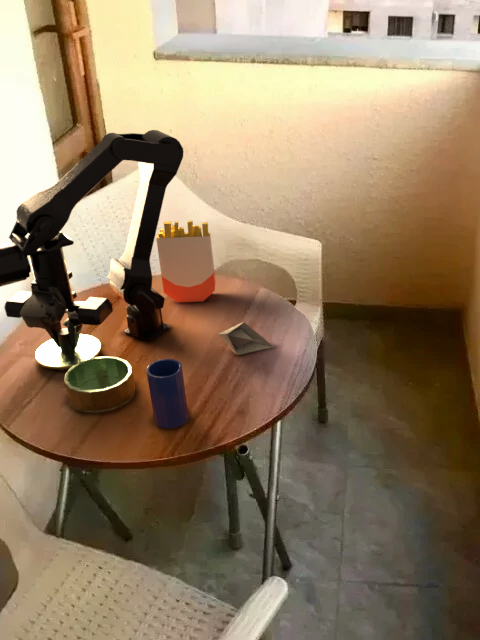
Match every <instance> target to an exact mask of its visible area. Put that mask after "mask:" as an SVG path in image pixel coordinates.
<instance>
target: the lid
mask: <svg viewBox="0 0 480 640" xmlns="http://www.w3.org/2000/svg"><path fill="white" fill-rule="evenodd" d="M57 336H58V340H59V344H60V348H59V347H58V346H57V345H56V343H55V342H54V341H53V339H52V338H50V339H49V340H47V341H45V342H44V343H42V344H41V345H40V346H39V347H38V348H37V349H36V351H35V355H34V358H35V361H36V363H37V364H38V365H40V366H41V367H43V368H46V369H50V370H69V369H70V368H71V367H73V366H74V365H76V364H78V363H79V362H81V361H84V360H87V359H91V358H95V357H99V355H100V354H101V351H102V344H101V341H100V340H99V339H98V338H97V337H95V336H93V335H90V334H83V333H80V337H79V341H78V345H77V347H76V348H75V349H73V348H72V346H71V343H70V338H69V333H68V328H67V327H62V328H61V329H60V330H58V331H57Z"/></svg>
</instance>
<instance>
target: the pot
mask: <svg viewBox="0 0 480 640" xmlns="http://www.w3.org/2000/svg"><path fill="white" fill-rule="evenodd" d="M134 378H135V377H134V372H133V368H132V365H131V364H130V362H128V361H127V360H126V359H123V358H121V357H119V356H107V355H105V356H97V357H95V358H91V359H87V360H84V361H81V362H79V363H78V364H76V365H74V366H73V367H71V368H69V369H67V371H66V373H65V374H64V381H63V382H64V386H65V390H66V391H65V392H66V394H67V398H68V401H69V404H70V406H71V407H72V408H73V409H74V410H76V411H78V412H80V413H83V414H91V415H94V414H95V415H96V414H98V415H99V414H105V413H109V412H114V411H116V410H118V409H120V408H123V407H124V406H126V405H128V403H130V402H131V401H132V400H133V398H134V397H135V394H136V385H135V384H136V383H135V379H134Z"/></svg>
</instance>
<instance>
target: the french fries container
mask: <svg viewBox="0 0 480 640" xmlns="http://www.w3.org/2000/svg"><path fill="white" fill-rule="evenodd" d="M186 223H187V232H185V227H182V226H179V221H174V224H172V220H171V221H170V220H165V221H164V222H163V228H160V229H159V232H158V233H157V234H156V237H155V239H156V246H157V254H158V261H159V268H160V276H161V283H162V289H163V294H165V295H166V296H168V297H169V298H170V299H172V300H174V301H175V302H177V303H198V302H204V301H205V300H207V299H208V298H209V297H210V296H211V295H212V294H213V293H214V292H215V291H216V273H215V263H214V254H213V246H212V237H211V233H210V232H209V222H208V221H206V222H205V221H203V222H202V223H201V225H199V224H194V222H193V220H188V221H187V222H186ZM201 226H202V227H201Z"/></svg>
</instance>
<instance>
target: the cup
mask: <svg viewBox="0 0 480 640" xmlns="http://www.w3.org/2000/svg"><path fill="white" fill-rule="evenodd" d="M145 371H146V377H147V384H148V390H149V396H150V402H151V407H152V414H153V419H154V423H155V425H156V426H158V427H159V428H161V429H176V428H179V427H181V426H183V425H184V424H186V423H187V422H188V420H189V410H188V409H189V408H188V401H187V394H186V387H185V379H184V370H183V364H182V363H181V362H180V361H179V360H177V359H174V358H162V359H158V360H154V361H152V362H150V363H149V364H148V365H147V367H146V369H145Z"/></svg>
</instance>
